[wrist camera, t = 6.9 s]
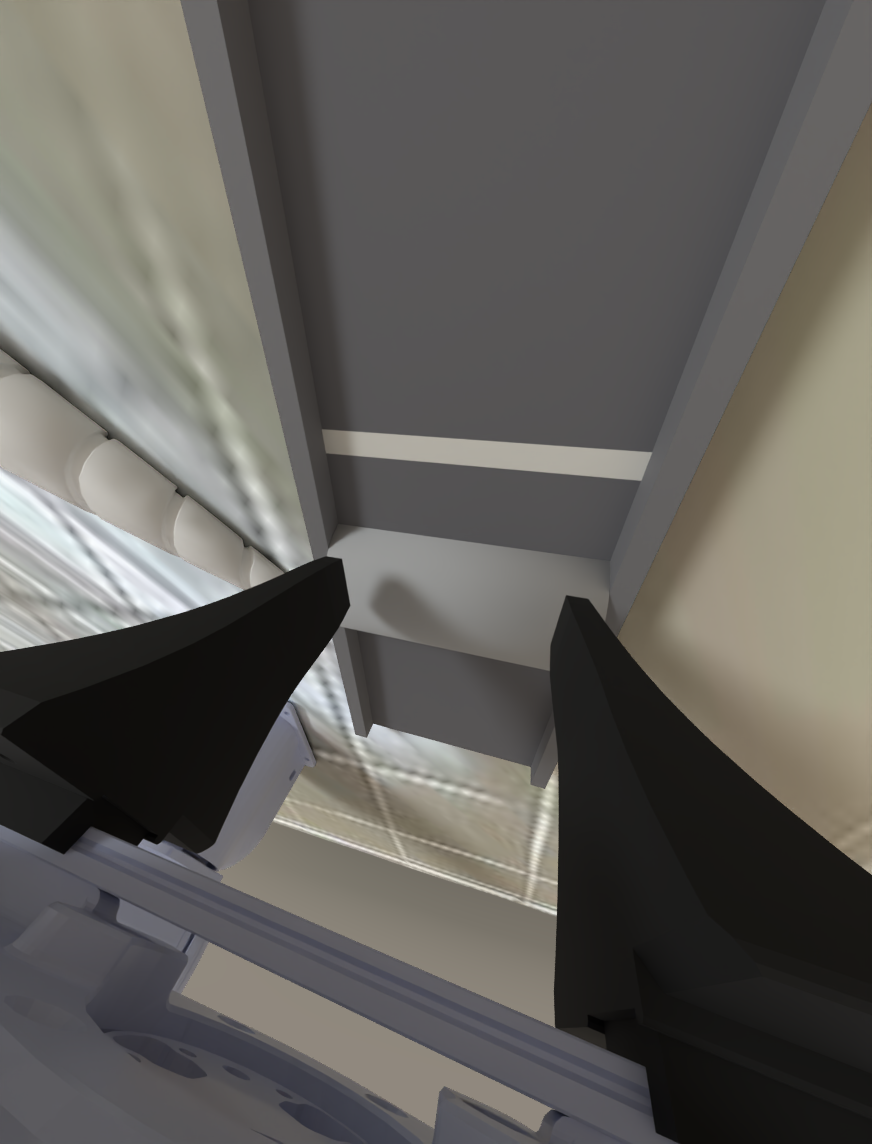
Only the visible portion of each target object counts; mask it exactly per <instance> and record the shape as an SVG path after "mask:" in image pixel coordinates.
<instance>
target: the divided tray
mask: <svg viewBox="0 0 872 1144" xmlns="http://www.w3.org/2000/svg"><path fill="white" fill-rule="evenodd" d="M180 1H181V5H182V9H183V13H184V18H185V22H186V26H187V30H188V34H189V39H190V43H191V47H192V51H193V55H194V60H195V64H196V68H197V72H198V76H199V80H200V85H201V89H202V93H203V97H204V101H205V106H206V110H207V114H208V118H209V122H210V127H211V131H212V135H213V139H214V143H215V148H216V152H217V156H218V160H219V164H220V168H221V173H222V177H223V181H224V185H225V189H226V194H227V198H228V202H229V206H230V210H231V215H232V219H233V223H234V227H235V231H236V236H237V240H238V244H239V248H240V252H241V257H242V261H243V265H244V269H245V273H246V277H247V282H248V286H249V290H250V294H251V298H252V303H253V307H254V311H255V315H256V319H257V324H258V328H259V332H260V336H261V340H262V345H263V349H264V353H265V357H266V361H267V366H268V370H269V374H270V378H271V382H272V386H273V391H274V395H275V399H276V403H277V407H278V412H279V416H280V420H281V424H282V428H283V433H284V437H285V441H286V445H287V449H288V454H289V458H290V462H291V466H292V470H293V475H294V479H295V483H296V487H297V491H298V495H299V500H300V504H301V508H302V512H303V516H304V521H305V525H306V529H307V533H308V537H309V542H310V546H311V550H312V554H313V558H314V560H316V559H319V558H322V557H325V556H329V557H335V558H341V559H342V561H343V566H344V572H345V577H346V583H347V589H348V594H349V600H350V605H351V606H350V607H349V609H348V611H347V613H346V615H345V617H344V619H343V621H342V623H341V625H340V627H339V628H338V630H337V631H336V633H335V634H334V636H333V637H332V638H333V642H334V646H335V651H336V655H337V659H338V663H339V667H340V672H341V676H342V680H343V684H344V688H345V693H346V697H347V701H348V705H349V709H350V713H351V718H352V722H353V726H354V730H355V734H356V735H359V736H363V737H366V738H367V736H368V734H369V731H370V729H371V727H372V725H373V724H377V725H381V726H384V727H388V728H391V729H395V730H399V731H402V732H406V733H410V734H413V735H417V736H421V737H424V738H428V739H431V740H435V741H439V742H442V743H446V744H450V745H453V746H457V747H461V748H464V749H468V750H471V751H475V752H479V753H482V754H486V755H490V756H493V757H497V758H501V759H504V760H508V761H511V762H515V763H519V764H522V765H526V766H530V767H531V785H534V786H537V787H541V788H544V789H545V787H546V785H547V783H548V781H549V779H550V777H551V775H552V773H553V771H554V768H555V766H556V764H557V762H558V752H557V742H556V732H555V723H554V713H553V704H552V694H551V684H550V644H551V641H552V638H553V635H554V632H555V628H556V625H557V622H558V619H559V616H560V612H561V609H562V606H563V603H564V600H565V597H566V595H569V596H575V597H581V598H587V599H589V600H590V602H591V603H592V604H593V606H594V607H595V609H596V610H597V611H598V613H599V614H600V615H601V617H602V618H603V620H604V621H605V622H606V624H607V625H608V626H609V628H610V629H611V631H612V632H613V633H614V635H615V636H616V637H617V636H618V634H619V632H620V630H621V628H622V626H623V623H624V621H625V619H626V617H627V615H628V613H629V611H630V609H631V607H632V605H633V602H634V600H635V598H636V596H637V594H638V592H639V590H640V588H641V586H642V584H643V581H644V579H645V577H646V575H647V573H648V571H649V569H650V567H651V565H652V562H653V560H654V558H655V556H656V554H657V552H658V550H659V548H660V546H661V544H662V541H663V539H664V537H665V535H666V533H667V531H668V529H669V527H670V525H671V523H672V520H673V518H674V516H675V514H676V512H677V510H678V508H679V506H680V504H681V502H682V499H683V497H684V495H685V493H686V491H687V489H688V487H689V485H690V483H691V481H692V478H693V476H694V474H695V472H696V470H697V468H698V466H699V464H700V462H701V460H702V457H703V455H704V453H705V451H706V449H707V447H708V445H709V443H710V441H711V439H712V436H713V434H714V432H715V430H716V428H717V426H718V424H719V422H720V420H721V418H722V415H723V413H724V411H725V409H726V407H727V405H728V403H729V401H730V399H731V396H732V394H733V392H734V390H735V388H736V386H737V384H738V382H739V380H740V378H741V375H742V373H743V371H744V369H745V367H746V365H747V363H748V361H749V359H750V357H751V354H752V352H753V350H754V348H755V346H756V344H757V342H758V340H759V338H760V336H761V333H762V331H763V329H764V327H765V325H766V323H767V321H768V319H769V317H770V315H771V312H772V310H773V308H774V306H775V304H776V302H777V300H778V298H779V296H780V294H781V291H782V289H783V287H784V285H785V283H786V281H787V279H788V277H789V275H790V273H791V270H792V268H793V266H794V264H795V262H796V260H797V258H798V256H799V254H800V252H801V249H802V247H803V245H804V243H805V241H806V239H807V237H808V235H809V233H810V230H811V228H812V226H813V224H814V222H815V220H816V218H817V216H818V214H819V212H820V209H821V207H822V205H823V203H824V201H825V199H826V197H827V195H828V193H829V191H830V188H831V186H832V184H833V182H834V180H835V178H836V176H837V174H838V172H839V170H840V167H841V165H842V163H843V161H844V159H845V157H846V155H847V153H848V151H849V149H850V146H851V144H852V142H853V140H854V138H855V136H856V134H857V132H858V130H859V128H860V125H861V123H862V121H863V119H864V117H865V115H866V113H867V111H868V109H869V107H870V104H871V102H872V0H180Z"/></svg>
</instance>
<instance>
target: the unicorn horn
mask: <svg viewBox="0 0 872 1144" xmlns="http://www.w3.org/2000/svg"><path fill="white" fill-rule="evenodd" d="M107 435H108V433H107V431H106V430H104V429H103V428H102V427H100V426H99V425H98V424H97V423H95V422H94V421H93V420H91V419H90V418H89V417H88V416H86V415H85V414H84V413H82V412H81V411H80V410H79V409H77V408H76V407H75V406H73V405H72V404H71V403H70V402H68V401H67V400H66V399H64V398H63V397H62V396H61V395H59V394H58V393H57V392H56V391H54V390H53V389H52V388H50V387H49V386H48V385H47V384H45V383H44V382H43V381H41V380H40V379H38V378H36V377H35V376H33V375H31V374H30V372H29V371H28V370H27V369H26V368H25V367H23V366H22V365H21V364H19V363H18V362H17V361H15V360H14V359H13V358H12V357H10V356H9V355H8V354H6V353H5V352H4V351H2V350H1V349H0V466H1V467H2V468H3V469H5V470H7V471H9V472H11V473H13V474H15V475H17V476H19V477H21V478H23V479H24V480H26V481H28V482H30V483H32V484H34V485H36V486H38V487H40V488H42V489H44V490H46V491H48V492H50V493H52V494H54V495H56V496H58V497H59V498H61V499H63V500H65V501H67V502H69V503H71V504H73V505H75V506H77V507H79V508H81V509H83V510H85V511H87V512H90V513H92V514H95V515H97V516H99V517H100V518H101V519H102V520H104V521H106V522H108V523H110V524H112V525H114V526H116V527H118V528H120V529H122V530H124V531H126V532H128V533H130V534H132V535H134V536H136V537H138V538H140V539H142V540H144V541H146V542H148V543H150V544H152V545H154V546H156V547H158V548H160V549H162V550H164V551H166V552H168V553H170V554H172V555H175V556H178V557H181V558H182V559H183V560H184V561H186V562H188V563H190V564H192V565H194V566H196V567H198V568H200V569H202V570H204V571H206V572H209V573H211V574H213V575H215V576H217V577H219V578H221V579H223V580H225V581H227V582H229V583H231V584H233V585H235V586H237V587H239V588H241V589H243V590H247V589H249V588H252V587H254V586H257V585H259V584H261V583H264V582H266V581H268V580H271V579H273V578H275V577H277V576H280V575H282V574H284V572H283V571H282V570H281V569H279V568H278V567H277V566H276V565H274V564H273V563H272V562H271V561H270V560H268V559H267V558H266V557H265V556H263V555H262V554H261V553H260V552H258V551H257V550H256V549H254V548H253V547H252V546H248V547H244V545H243V540H242V538H241V537H239V536H238V535H237V534H236V533H235V532H233V531H232V530H231V529H230V528H228V527H227V526H226V525H225V524H223V523H222V522H221V521H220V520H219V519H217V518H216V517H215V516H214V515H212V514H211V513H210V512H209V511H207V510H206V509H205V508H204V507H202V506H201V505H200V504H199V503H197V502H196V501H195V500H193V499H192V498H191V497H190V496H188V495H187V496H185V497H181V496H180V495H179V494H178V493H176V492H175V490H176V489H177V488H178V487H177V486H176V485H175V484H173V483H172V482H171V481H169V480H168V479H167V478H166V477H164V476H163V475H162V474H161V473H159V472H158V471H157V470H155V469H154V468H153V467H152V466H150V465H149V464H148V463H147V462H145V461H144V460H143V459H141V458H140V457H139V456H138V455H136V454H135V453H134V452H132V451H131V450H130V449H129V448H127V447H126V446H125V445H124V444H122V443H121V442H120V441H118V440H116V439H111V440H108V439H107V438H106V437H107Z"/></svg>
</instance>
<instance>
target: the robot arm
mask: <svg viewBox="0 0 872 1144" xmlns="http://www.w3.org/2000/svg"><path fill="white" fill-rule="evenodd" d="M350 606H351V605H350V600H349V594H348V589H347V583H346V577H345V572H344V566H343V561H342V559H341V558H335V557H329V556H325V557H322V558H319V559H316V560H314V561H312V562H309V563H307V564H304V565H302V566H300V567H298V568H295V569H293V570H291V571H289V572H286V573H284V574H282V575H280V576H277V577H275V578H273V579H271V580H268V581H266V582H264V583H261V584H259V585H257V586H254V587H252V588H249V589H247V590H244V591H242V592H239V593H237V594H235V595H232V596H230V597H227V598H224V599H222V600H219V601H216V602H213V603H211V604H208V605H205V606H202V607H199V608H196V609H193V610H190V611H186V612H183V613H180V614H177V615H173V616H169V617H166V618H162V619H158V620H155V621H151V622H148V623H144V624H140V625H137V626H133V627H129V628H124V629H120V630H116V631H111V632H107V633H102V634H98V635H93V636H88V637H84V638H79V639H74V640H68V641H63V642H57V643H51V644H46V645H40V646H34V647H28V648H22V649H17V650H11V651H4V652H0V1144H872V875H871V874H870V873H869V872H867V871H866V870H865V869H863V868H862V867H861V866H859V865H858V864H857V863H855V862H854V861H853V860H851V859H850V858H849V857H848V856H846V855H845V854H844V853H842V852H841V851H840V850H839V849H837V848H836V847H835V846H834V845H832V844H831V843H830V842H829V841H827V840H826V839H825V838H824V837H822V836H821V835H820V834H819V833H818V832H816V831H815V830H814V829H813V828H811V827H810V826H809V825H808V824H806V823H805V822H804V821H803V820H801V819H800V818H799V817H798V816H797V815H795V814H794V813H793V812H792V811H790V810H789V809H788V808H787V807H785V806H784V805H783V804H782V803H781V802H780V801H778V800H777V799H776V798H775V797H774V796H772V795H771V794H770V793H769V792H768V791H767V790H765V789H764V788H763V787H762V786H761V785H759V784H758V783H757V782H756V781H755V780H754V779H753V778H751V777H750V776H749V775H748V774H747V773H746V772H745V771H744V770H742V769H741V768H740V767H739V766H738V765H737V764H736V763H735V762H733V761H732V760H731V759H730V758H729V757H728V756H727V755H726V754H725V753H723V752H722V751H721V750H720V749H719V748H718V747H717V746H716V745H715V744H714V743H713V742H711V741H710V740H709V739H708V738H707V737H706V736H705V735H704V734H703V733H702V732H701V731H700V730H699V729H698V728H697V727H696V726H695V725H694V724H693V723H692V722H691V721H690V720H689V719H688V718H687V717H686V716H685V715H684V714H683V713H682V712H681V711H680V710H679V709H678V708H677V707H676V706H675V705H674V704H673V703H672V702H671V701H670V700H669V699H668V698H667V697H666V696H665V695H664V693H663V692H662V691H661V690H660V689H659V688H658V687H657V686H656V685H655V683H654V682H653V681H652V680H651V679H650V678H649V677H648V675H647V674H646V673H645V672H644V671H643V670H642V669H641V667H640V666H639V665H638V664H637V663H636V661H635V660H634V659H633V658H632V657H631V655H630V654H629V653H628V651H627V650H626V649H625V648H624V646H623V645H622V644H621V643H620V641H619V640H618V639H617V637H616V636H615V635H614V633H613V632H612V631H611V629H610V628H609V626H608V625H607V624H606V622H605V621H604V620H603V618H602V617H601V615H600V614H599V613H598V611H597V610H596V609H595V607H594V606H593V604H592V603H591V602H590V600H589V599H587V598H581V597H575V596H569V595H566V597H565V600H564V603H563V606H562V609H561V612H560V616H559V619H558V622H557V625H556V628H555V632H554V635H553V638H552V641H551V644H550V684H551V694H552V704H553V713H554V723H555V732H556V742H557V752H558V770H559V851H558V900H557V929H556V930H557V931H556V958H555V981H554V1008H555V1027H556V1028H554V1027H552V1026H550V1025H547V1024H545V1023H543V1022H541V1021H538V1020H536V1019H534V1018H531V1017H529V1016H527V1015H525V1014H522V1013H520V1012H518V1011H515V1010H513V1009H511V1008H508V1007H506V1006H504V1005H501V1004H499V1003H497V1002H494V1001H492V1000H490V999H488V998H485V997H483V996H481V995H478V994H476V993H474V992H471V991H469V990H467V989H465V988H462V987H460V986H458V985H455V984H453V983H451V982H448V981H446V980H444V979H442V978H439V977H437V976H435V975H432V974H430V973H428V972H425V971H423V970H421V969H419V968H416V967H414V966H412V965H409V964H407V963H405V962H402V961H400V960H398V959H395V958H393V957H391V956H389V955H386V954H384V953H382V952H379V951H377V950H375V949H372V948H370V947H368V946H366V945H363V944H361V943H359V942H356V941H354V940H352V939H349V938H347V937H345V936H342V935H340V934H338V933H336V932H333V931H331V930H328V929H326V928H324V927H322V926H319V925H317V924H315V923H312V922H310V921H308V920H305V919H303V918H301V917H299V916H296V915H294V914H291V913H289V912H287V911H285V910H283V909H280V908H278V907H276V906H273V905H271V904H269V903H266V902H264V901H262V900H259V899H257V898H255V897H253V896H250V895H248V894H246V893H243V892H241V891H239V890H236V889H234V888H232V887H230V886H227V885H225V884H223V883H220V881H221V880H222V878H223V876H222V875H220V874H219V873H217V872H215V871H219V870H224V869H227V868H229V867H231V866H233V865H235V864H237V863H238V862H240V861H241V860H242V859H244V858H245V857H246V856H247V855H248V854H250V853H251V851H252V850H253V849H254V848H255V847H256V846H257V845H258V843H259V842H260V841H261V839H262V838H263V836H264V835H265V833H266V831H267V830H268V828H269V826H270V824H271V823H272V821H273V819H274V818H275V816H276V814H277V812H278V811H279V809H280V807H281V805H282V804H283V802H284V800H285V798H286V797H287V795H288V793H289V791H290V790H291V788H292V786H293V784H294V783H295V781H296V779H297V777H298V776H299V774H300V772H301V771H302V769H303V767H304V765H305V766H309V767H314V766H315V764H316V760H315V758H314V755H313V753H312V750H311V748H310V745H309V743H308V740H307V738H306V735H305V733H304V731H303V728H302V726H301V723H300V721H299V718H298V716H297V713H296V711H295V708H294V706H293V705H292V704H291V703H289V702H287V701H288V699H289V698H290V696H291V694H292V693H293V691H294V690H295V688H296V687H297V686H298V684H299V683H300V681H301V680H302V678H303V677H304V676H305V674H306V673H307V672H308V670H309V669H310V668H311V666H312V665H313V663H314V662H315V661H316V659H317V658H318V657H319V655H320V654H321V652H322V651H323V650H324V648H325V647H326V646H327V644H328V643H329V641H330V640H331V639H332V637H333V636H334V634H335V633H336V631H337V630H338V628H339V627H340V625H341V623H342V621H343V619H344V617H345V615H346V613H347V611H348V609H349V607H350ZM209 942H210V943H212V944H215V945H217V946H219V947H221V948H223V949H225V950H227V951H229V952H231V953H233V954H235V955H237V956H239V957H242V958H243V959H245V960H247V961H250V962H252V963H254V964H256V965H258V966H260V967H262V968H264V969H266V970H269V971H270V972H272V973H275V974H277V975H279V976H280V977H283V978H285V979H287V980H289V981H291V982H293V983H295V984H297V985H299V986H301V987H303V988H305V989H308V990H309V991H312V992H313V993H316V994H318V995H320V996H322V997H324V998H326V999H328V1000H330V1001H332V1002H334V1003H336V1004H338V1005H340V1006H342V1007H345V1008H346V1009H349V1010H351V1011H353V1012H355V1013H357V1014H359V1015H361V1016H363V1017H365V1018H367V1019H369V1020H371V1021H373V1022H376V1023H377V1024H380V1025H381V1026H384V1027H386V1028H388V1029H390V1030H392V1031H394V1032H396V1033H398V1034H400V1035H402V1036H404V1037H406V1038H408V1039H410V1040H412V1041H414V1042H417V1043H419V1044H421V1045H423V1046H425V1047H427V1048H429V1049H431V1050H433V1051H435V1052H437V1053H439V1054H441V1055H443V1056H445V1057H447V1058H449V1059H452V1060H454V1061H456V1062H458V1063H460V1064H462V1065H464V1066H466V1067H468V1068H470V1069H472V1070H474V1071H476V1072H478V1073H480V1074H482V1075H485V1076H487V1077H489V1078H491V1079H493V1080H495V1081H497V1082H499V1083H501V1084H503V1085H505V1086H507V1087H510V1088H511V1089H514V1090H515V1091H518V1092H520V1093H522V1094H524V1095H526V1096H528V1097H530V1098H532V1099H534V1100H536V1101H538V1102H540V1103H542V1104H544V1105H546V1106H548V1107H551V1108H553V1109H555V1110H550V1111H549V1112H548V1113H547V1114H546V1115H545V1116H544V1118H543V1120H542V1124H541V1127H540V1129H539V1131H537V1132H534V1131H533V1130H531V1129H530V1128H528V1127H527V1126H525V1125H523V1124H522V1123H520V1122H519V1121H517V1120H515V1119H513V1118H512V1117H510V1116H508V1115H506V1114H504V1113H502V1112H500V1111H498V1110H496V1109H494V1108H492V1107H490V1106H488V1105H485V1104H483V1103H481V1102H479V1101H477V1100H474V1099H472V1098H470V1097H468V1096H465V1095H463V1094H461V1093H459V1092H456V1091H454V1090H452V1089H450V1088H447V1087H443V1089H442V1090H441V1091H440V1092H439V1099H438V1107H437V1114H436V1121H435V1129H433V1128H432V1127H430V1126H429V1125H427V1124H425V1123H424V1122H422V1121H420V1120H418V1119H417V1118H415V1117H413V1116H412V1115H410V1114H408V1113H407V1112H405V1111H403V1110H402V1109H400V1108H398V1107H397V1106H395V1105H393V1104H392V1103H390V1102H388V1101H387V1100H385V1099H383V1098H382V1097H380V1096H378V1095H377V1094H375V1093H373V1092H371V1091H370V1090H368V1089H367V1088H365V1087H363V1086H361V1085H360V1084H358V1083H356V1082H355V1081H353V1080H351V1079H349V1078H348V1077H346V1076H344V1075H342V1074H340V1073H339V1072H336V1071H335V1070H333V1069H331V1068H330V1067H328V1066H326V1065H324V1064H322V1063H320V1062H318V1061H317V1060H315V1059H313V1058H311V1057H309V1056H307V1055H305V1054H303V1053H301V1052H299V1051H297V1050H295V1049H294V1048H292V1047H290V1046H288V1045H286V1044H284V1043H282V1042H280V1041H278V1040H276V1039H273V1038H271V1037H269V1036H267V1035H265V1034H263V1033H261V1032H259V1031H257V1030H255V1029H253V1028H251V1027H249V1026H247V1025H245V1024H242V1023H240V1022H238V1021H236V1020H234V1019H232V1018H230V1017H228V1016H225V1015H224V1014H221V1013H219V1012H217V1011H215V1010H213V1009H211V1008H209V1007H207V1006H205V1005H202V1004H200V1003H198V1002H196V1001H194V1000H192V999H190V998H188V997H186V996H184V995H182V994H181V993H182V991H183V989H184V988H185V986H186V984H187V982H188V981H189V979H190V977H191V976H192V974H193V972H194V970H195V968H196V966H197V965H198V963H199V961H200V959H201V957H202V955H203V953H204V951H205V949H206V947H207V945H208V943H209Z"/></svg>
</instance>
